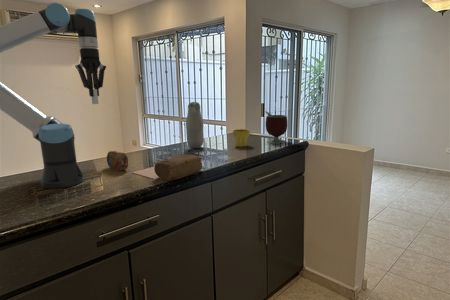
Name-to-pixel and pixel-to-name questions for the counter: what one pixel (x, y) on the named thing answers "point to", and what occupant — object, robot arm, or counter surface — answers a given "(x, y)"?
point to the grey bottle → (194, 126)
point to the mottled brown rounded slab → (117, 160)
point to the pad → (147, 173)
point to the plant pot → (241, 137)
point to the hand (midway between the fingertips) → (95, 103)
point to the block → (178, 167)
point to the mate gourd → (276, 127)
